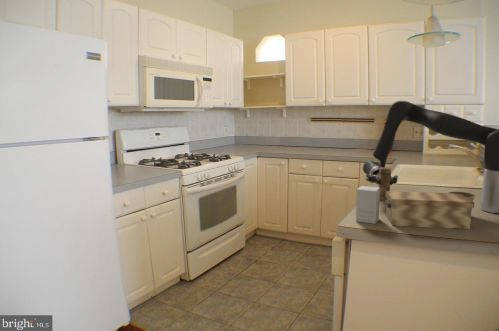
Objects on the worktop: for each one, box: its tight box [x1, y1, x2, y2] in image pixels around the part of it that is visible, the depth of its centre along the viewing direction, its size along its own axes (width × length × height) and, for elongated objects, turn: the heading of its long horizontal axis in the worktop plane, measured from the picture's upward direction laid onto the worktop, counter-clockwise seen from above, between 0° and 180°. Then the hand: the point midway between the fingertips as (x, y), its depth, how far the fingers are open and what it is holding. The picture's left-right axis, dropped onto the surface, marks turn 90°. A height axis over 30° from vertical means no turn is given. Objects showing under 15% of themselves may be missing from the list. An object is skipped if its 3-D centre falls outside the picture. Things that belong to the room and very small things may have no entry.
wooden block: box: [377, 167, 392, 203], centre depth 154 cm, size 4×4×14 cm
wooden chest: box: [384, 190, 475, 230], centre depth 139 cm, size 28×21×10 cm
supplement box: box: [355, 185, 381, 225], centre depth 138 cm, size 7×7×13 cm
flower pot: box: [447, 190, 476, 202], centre depth 144 cm, size 9×9×9 cm
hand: (385, 182), depth 151 cm, fingers closed on wooden block, 4 cm apart
